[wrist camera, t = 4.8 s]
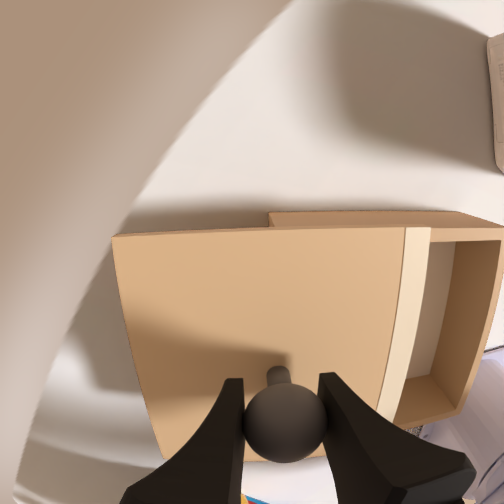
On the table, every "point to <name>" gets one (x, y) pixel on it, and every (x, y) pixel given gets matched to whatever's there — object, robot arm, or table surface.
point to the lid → (270, 324)
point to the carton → (438, 304)
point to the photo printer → (497, 93)
